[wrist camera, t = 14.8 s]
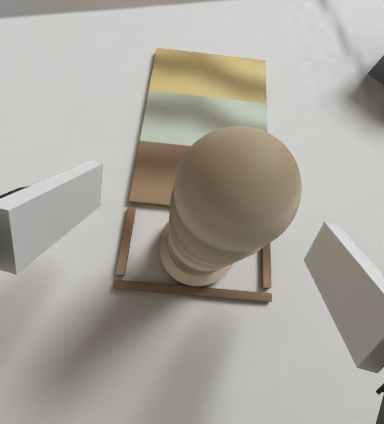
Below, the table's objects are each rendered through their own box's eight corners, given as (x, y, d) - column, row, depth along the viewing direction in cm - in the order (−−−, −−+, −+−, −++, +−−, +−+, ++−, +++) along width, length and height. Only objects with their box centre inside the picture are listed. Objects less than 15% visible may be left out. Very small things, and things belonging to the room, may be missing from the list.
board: (269, 301, 19) (272, 301, 18) (114, 288, 18) (112, 288, 18) (263, 64, 27) (265, 60, 26) (156, 52, 26) (156, 47, 26)
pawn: (237, 283, 19) (391, 260, 6) (160, 289, 18) (147, 279, 5) (227, 211, 21) (328, 76, 8) (158, 214, 20) (143, 71, 7)
